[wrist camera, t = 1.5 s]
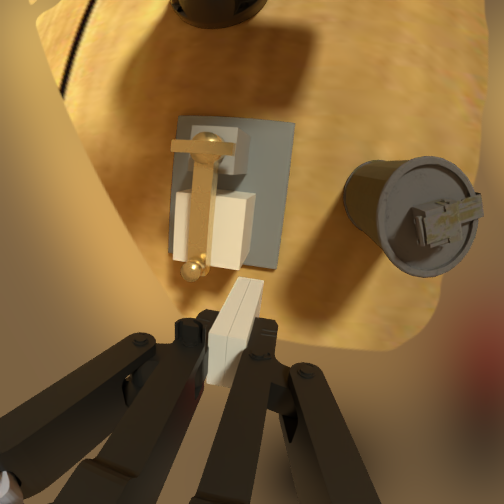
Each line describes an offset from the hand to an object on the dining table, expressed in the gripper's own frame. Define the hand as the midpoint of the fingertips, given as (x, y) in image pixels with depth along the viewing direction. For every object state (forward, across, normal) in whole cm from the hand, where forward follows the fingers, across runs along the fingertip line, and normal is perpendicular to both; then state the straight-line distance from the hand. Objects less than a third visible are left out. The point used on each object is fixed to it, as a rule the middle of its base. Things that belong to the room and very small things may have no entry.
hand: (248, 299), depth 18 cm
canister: (+24, +14, +6) cm, 29 cm away
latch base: (+24, -7, +4) cm, 26 cm away
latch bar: (+14, -7, +3) cm, 16 cm away
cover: (+23, -7, 0) cm, 24 cm away
